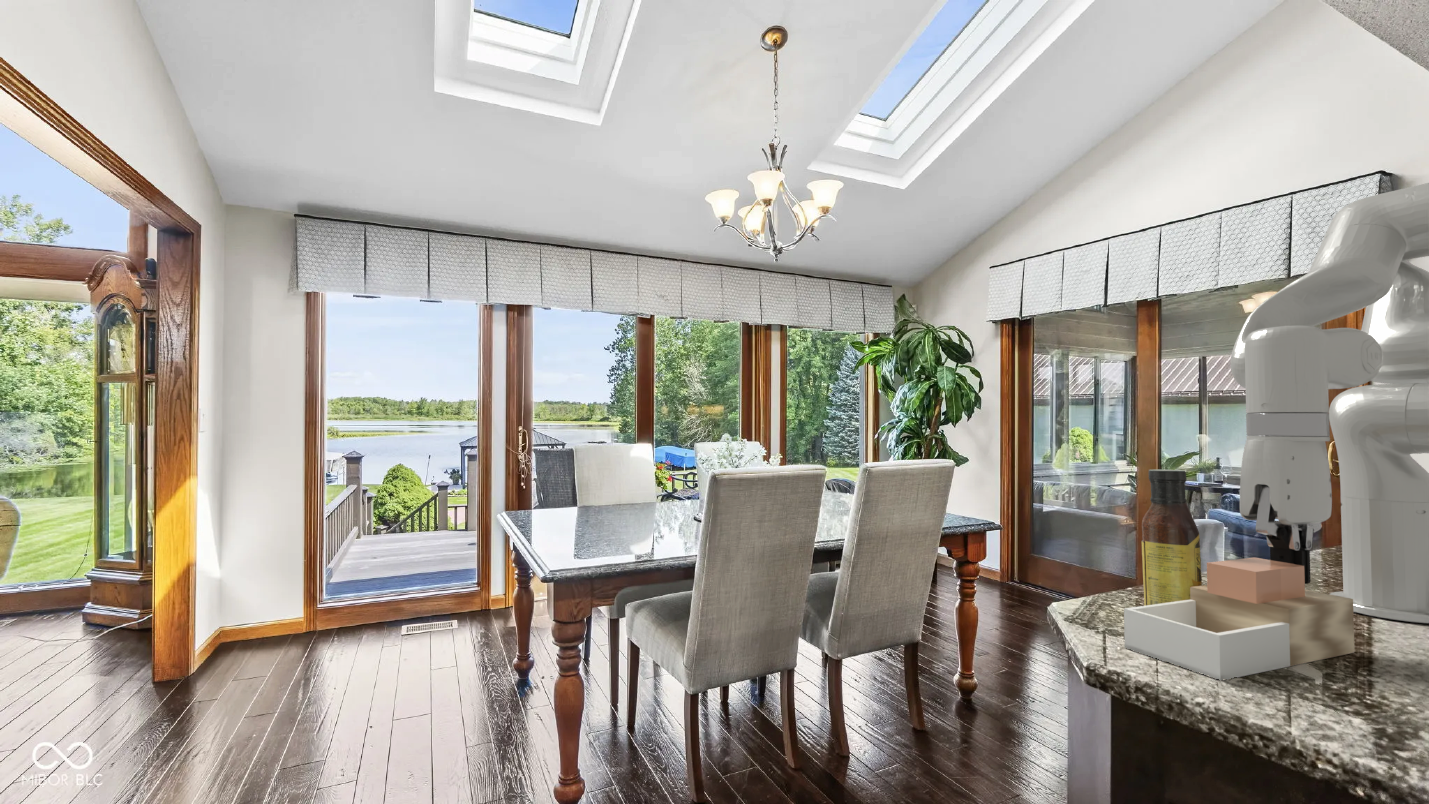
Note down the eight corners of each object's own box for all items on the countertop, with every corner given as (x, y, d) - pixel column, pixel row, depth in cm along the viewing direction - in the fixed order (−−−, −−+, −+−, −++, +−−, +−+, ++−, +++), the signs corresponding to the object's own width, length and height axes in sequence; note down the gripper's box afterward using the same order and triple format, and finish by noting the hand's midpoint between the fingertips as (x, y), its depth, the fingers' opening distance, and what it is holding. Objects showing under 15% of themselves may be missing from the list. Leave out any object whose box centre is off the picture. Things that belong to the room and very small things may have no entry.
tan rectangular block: (1253, 626, 82) (1252, 579, 82) (1354, 652, 72) (1353, 599, 73) (1191, 636, 77) (1190, 587, 78) (1290, 666, 68) (1288, 609, 68)
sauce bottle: (1214, 632, 79) (1210, 472, 80) (1157, 629, 80) (1154, 470, 81) (1186, 617, 85) (1183, 468, 86) (1134, 614, 87) (1132, 467, 87)
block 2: (1255, 586, 78) (1254, 557, 78) (1305, 596, 74) (1304, 565, 74) (1231, 589, 77) (1230, 560, 77) (1281, 600, 72) (1280, 568, 72)
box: (1191, 636, 77) (1190, 599, 77) (1290, 666, 68) (1289, 623, 68) (1124, 648, 73) (1123, 608, 73) (1220, 680, 64) (1219, 635, 64)
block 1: (1231, 589, 77) (1231, 560, 77) (1281, 600, 72) (1280, 568, 72) (1207, 592, 75) (1206, 562, 75) (1256, 603, 70) (1255, 571, 70)
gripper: (1287, 429, 83) (1290, 570, 83) (1212, 428, 78) (1215, 579, 77) (1362, 429, 76) (1366, 584, 76) (1286, 428, 71) (1290, 594, 70)
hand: (1290, 581), depth 77 cm, fingers closed
